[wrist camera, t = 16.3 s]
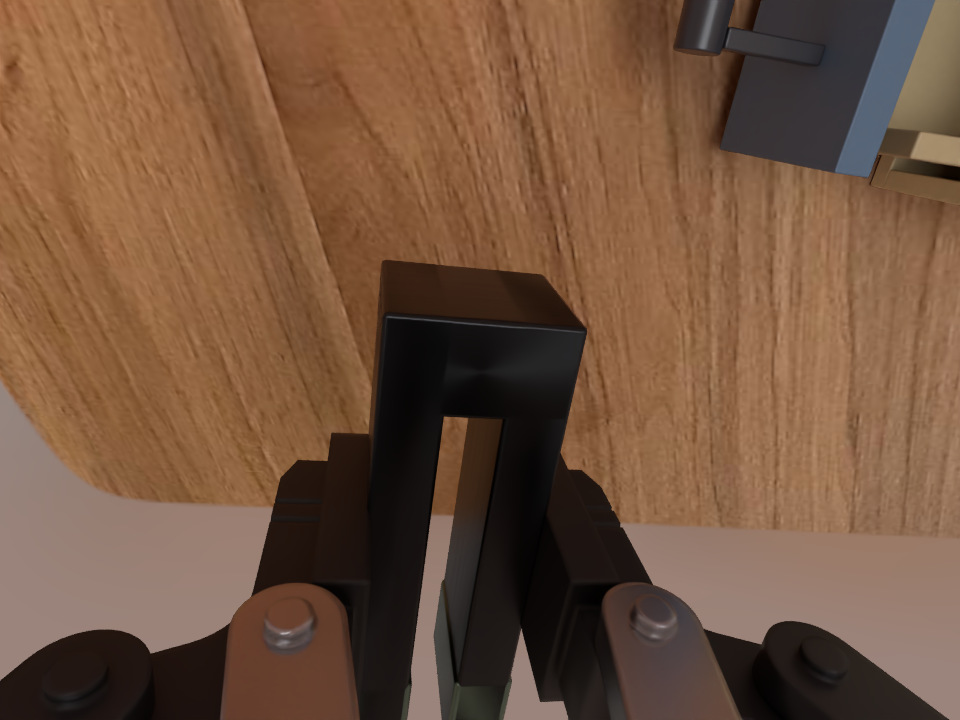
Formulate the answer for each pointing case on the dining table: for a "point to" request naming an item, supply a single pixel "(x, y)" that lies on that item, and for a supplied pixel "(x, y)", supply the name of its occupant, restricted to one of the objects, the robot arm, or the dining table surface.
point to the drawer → (838, 79)
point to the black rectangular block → (484, 471)
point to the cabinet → (918, 178)
